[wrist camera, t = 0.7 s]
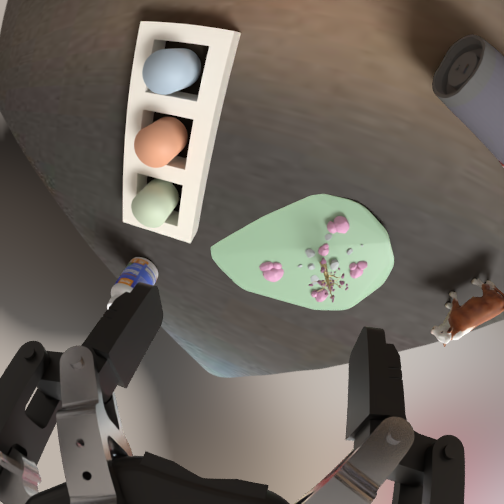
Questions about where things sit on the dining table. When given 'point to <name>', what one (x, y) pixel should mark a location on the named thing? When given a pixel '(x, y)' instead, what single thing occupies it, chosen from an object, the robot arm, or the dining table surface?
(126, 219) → the button board
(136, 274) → the pill bottle
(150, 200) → the pale green rounded dome
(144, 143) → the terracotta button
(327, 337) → the dining table surface
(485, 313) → the bull figurine
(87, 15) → the dining table surface
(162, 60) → the light blue rounded dome
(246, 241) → the plant
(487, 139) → the bluetooth speaker
